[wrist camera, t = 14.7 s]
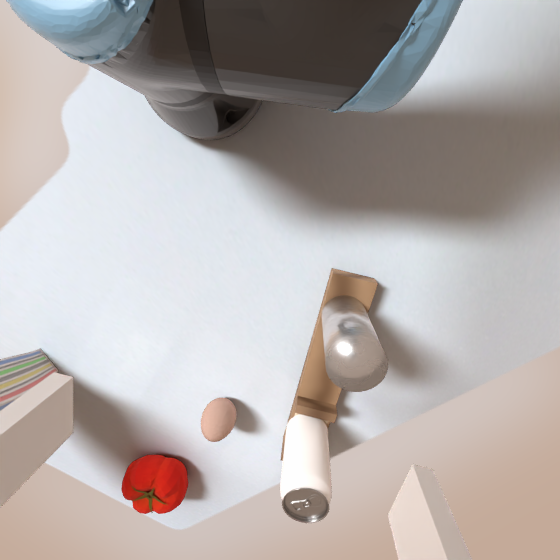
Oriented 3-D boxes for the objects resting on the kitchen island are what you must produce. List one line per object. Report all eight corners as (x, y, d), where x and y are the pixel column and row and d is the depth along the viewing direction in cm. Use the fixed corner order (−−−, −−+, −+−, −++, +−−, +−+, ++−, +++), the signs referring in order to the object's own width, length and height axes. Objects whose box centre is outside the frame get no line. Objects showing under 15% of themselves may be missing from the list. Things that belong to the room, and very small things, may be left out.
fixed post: (316, 329, 42) (318, 383, 30) (328, 290, 40) (334, 332, 28) (358, 340, 41) (376, 398, 30) (372, 301, 40) (396, 347, 28)
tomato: (197, 486, 57) (183, 522, 50) (144, 486, 58) (124, 521, 52) (186, 445, 54) (169, 479, 48) (130, 446, 55) (107, 479, 49)
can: (334, 437, 47) (341, 518, 35) (297, 449, 48) (293, 530, 37) (316, 406, 45) (318, 479, 34) (279, 419, 47) (269, 494, 35)
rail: (283, 437, 51) (280, 460, 47) (331, 268, 41) (334, 277, 37) (317, 446, 51) (317, 469, 46) (374, 278, 41) (381, 288, 37)
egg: (246, 403, 50) (236, 438, 43) (227, 421, 51) (214, 458, 44) (222, 383, 49) (207, 416, 42) (203, 402, 50) (186, 437, 43)
